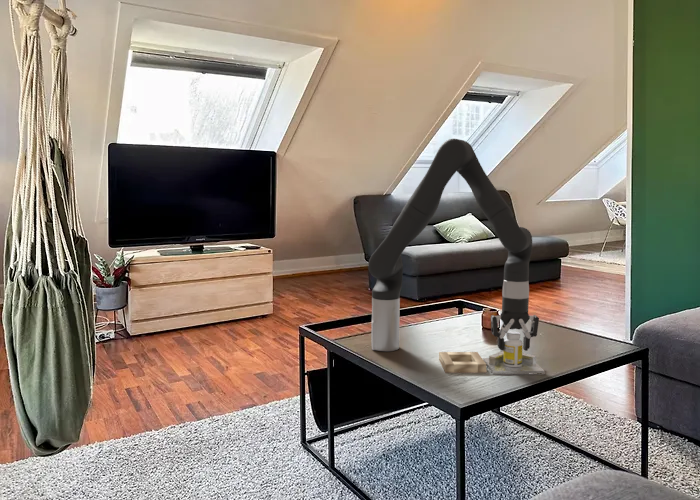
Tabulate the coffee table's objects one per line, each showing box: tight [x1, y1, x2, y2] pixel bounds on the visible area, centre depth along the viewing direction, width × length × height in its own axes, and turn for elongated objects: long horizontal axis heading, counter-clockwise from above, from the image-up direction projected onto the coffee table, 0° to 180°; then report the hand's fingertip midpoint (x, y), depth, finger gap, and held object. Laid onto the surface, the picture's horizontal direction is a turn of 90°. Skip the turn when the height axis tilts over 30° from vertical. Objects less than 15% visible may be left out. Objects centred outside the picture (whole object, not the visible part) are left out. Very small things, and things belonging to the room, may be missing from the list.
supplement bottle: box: [503, 330, 523, 367], centre depth 169 cm, size 5×5×10 cm
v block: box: [482, 350, 545, 375], centre depth 170 cm, size 15×12×4 cm
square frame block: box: [438, 351, 487, 374], centre depth 172 cm, size 12×12×2 cm
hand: (513, 349), depth 169 cm, fingers open, 6 cm apart
